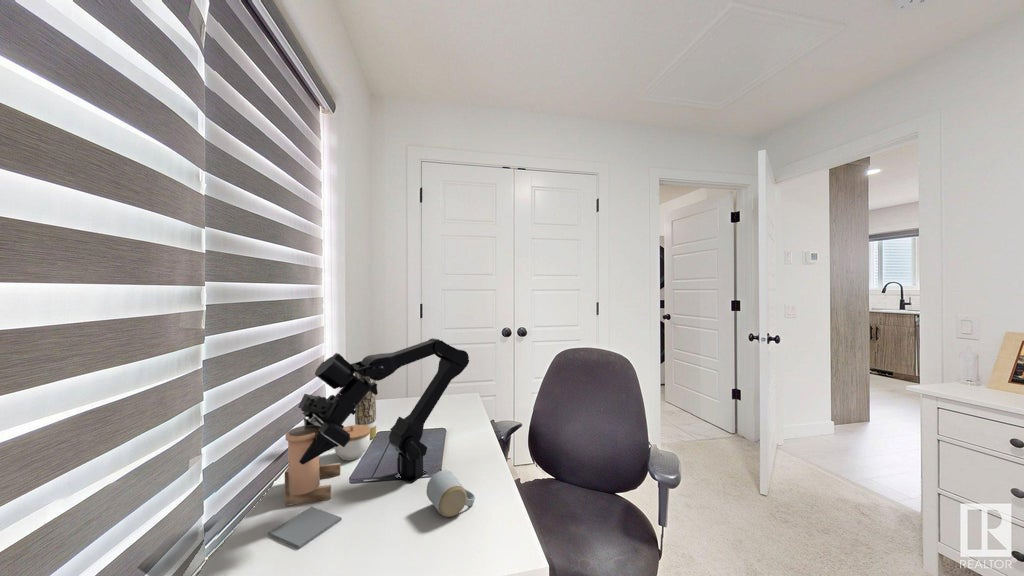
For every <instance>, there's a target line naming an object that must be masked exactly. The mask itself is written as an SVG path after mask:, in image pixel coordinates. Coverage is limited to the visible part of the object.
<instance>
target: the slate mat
mask: <svg viewBox="0 0 1024 576" xmlns="http://www.w3.org/2000/svg"><path fill="white" fill-rule="evenodd" d="M341 521H342V517H341V516H339V515H336V514H334V513H331V512H327V511H325V510H322V509H320V508H317V507H313V506H310V507H308V508H306V509H305V510H304V511H301V512H300V513H298V514H297V515H295V516H294V517H292V518H290V519H289V520H287V521H285V522H283V523H281V524H280V525H278V526H277V527H275V528H273V529H271V530H269V531H268V532H267V533H268V534H267V535H268V537H269V536H270V537H272V538H274V539H276V540H278V541H281V542H282V543H285V544H287V545H289V546H292V547H293V548H296V549H298V550H301V548H303V547H304V546H306V545H308V544H309V543H310V542H311V541H313V540H315V539H316V538H317V537H319V536H320V535H322V534H323V533H325V532H327V531H328V530H329V529H331V528H332V527H333V526H336V524H338V523H339V522H341Z"/></svg>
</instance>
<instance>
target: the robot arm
mask: <svg viewBox="0 0 1024 576" xmlns="http://www.w3.org/2000/svg"><path fill="white" fill-rule="evenodd" d="M433 355H435V356H436V357H437V358H439V361H438V366H437V367H438V369H437V372H436V374H435V375H434V376H433V378H432V380H431V381H430V382H429V384H428V385H427V388H426V389H425V390H424V392H423V394H422V395H421V397H420V398H419V399H418V401H417V403H416V404H415V406H414V407H413V409H412V410H411V411H410V413H409V414H408V415H407V416H406V417H401V416H398V418H397V419H396V422H395V424H394V425H393V426H392V427H391V428H390V429H389V430H390V433H389V436H388V442H389V443H390V446H392V447H393V448H394V449H395V451H396V452H398V454H397V459H396V461H397V463H396V464H397V465H396V466H397V467H396V469H397V474H398V473H399V474H400V476H401V478H400V477H398V478H400V479H399V480H400V481H404V482H408V483H414V482H415V481H417V480H418V479H420V478H421V477H422V476H423V475H422V474H423V473H424V472H426V471H424V470H423V469H424V456H426V454H427V450H428V447H427V446H426V445H425V444H424V443H422V442H421V440H422V437H423V433H424V427H425V424H426V421H427V420H428V418H429V417H430V415H431V413H432V412H433V410H434V408H435V407H436V405H437V404H438V403H439V401H440V398H441V397H442V396H443V394H444V393H445V390H446V389H447V388H448V386H449V385H450V383H451V382H452V380H454V379H455V378H456V377H457V376H459V375H460V374H461V373H462V372H463V371H464V370H465V369H466V368H467V367H468V365H469V363H470V356H469V353H468V352H467V351H466V350H463V349H458V348H456V347H454V346H452V345H450V344H448V343H446V342H445V341H443V339H438V338H433V337H432V338H429V339H428V340H426V341H423V342H420V343H416V344H413V345H411V346H407V347H406V348H402V349H399V350H397V351H394V352H388V353H387V352H385V353H377V354H370V355H366V356H364V358H363V359H362V360H360V361H357V362H353V363H350V362H348V361H347V360H346V359H345V358H344V356H342V355H341V354H340V353H338V352H335V353H334V354H333V355H332V356H330V357H329V358H327V359H326V360H325V361H323V362H321V363H320V365H319V366H318V367H317V368H316V370H315V372H314V375H315V376H316V377H317V378H318V379H320V380H321V381H323V382H324V383H325V384H326V385H327V386H329V387H331V389H333V390H336V389H338V388H339V389H340V390H339V391H338V392H337V393H336V394H331V395H329V396H328V398H326V397H325V396H321V395H311V394H307V393H304V394H303V396H302V399H301V400H300V402H299V405H298V407H297V408H299V409H300V411H302V415H304V417H303V423H304V425H303V426H306V425H318V426H321V427H320V431H321V432H319V431H318V430H316V429H315V438H314V440H313V442H312V443H311V445H310V446H309V448H308V449H307V450H306V452H305V453H304V455H303V456H302V458H301V460H300V461H299V462H300V463H301V464H305V463H307V462H309V461H310V460H312V459H314V458H315V457H317V456H319V457H320V456H321V455H322V454H324V453H325V452H328V451H330V450H332V449H333V448H334V447H338V446H339V445H341V446H342V447H345V446H346V444H347V443H348V442H349V441H350V434H349V433H348V432H347V431H345V430H344V429H343V427H345V426H344V425H343V424H344V422H345V421H346V420H347V419H348V418H349V416H350V415H352V416H355V413H356V411H355V408H356V407H357V406H358V404H359V403H360V402H361V401H362V399H363V398H364V397H365V396H366V395H367V393H368V392H371V393H373V394H375V395H376V396H377V395H378V383H374V382H373V383H370V382H369V381H367V380H366V379H365V378H363V377H368V378H370V379H373V380H375V381H377V382H378V381H383V380H384V379H386V378H387V377H389V376H391V375H392V374H394V373H395V372H396V371H397V370H398V369H400V368H401V367H404V366H406V365H407V366H408V365H409V364H412V363H415V362H418V361H420V360H423V359H425V358H428V357H430V356H433ZM355 373H356V374H358V375H361V376H363V377H361V378H359V379H358V378H357V377H356V376H355ZM337 443H338V444H339V445H338V444H337ZM423 471H424V472H423ZM426 473H427V472H426ZM421 475H422V476H421ZM420 476H421V477H420Z"/></svg>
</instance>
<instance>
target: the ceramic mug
mask: <svg viewBox="0 0 1024 576" xmlns="http://www.w3.org/2000/svg"><path fill="white" fill-rule="evenodd" d="M426 496H427V498H428V500H429V501H430V502H431V504H432V505H433V507H435V509H436V511H438V513H439V514H440V515H442V516H443V517H445V518H452V517H455V516H456V515H458V514H460V512H461V511H462V510H464V507H465V506H466V507H471V506H473V505H474V503H475V499H476V496H475V494H474V493H472V492H471V491H470V490H468V489H466V488H465V487H464V486H463V485H462V483H461V482H460V481H459V479H458V478H457V477H456V475H455V474H454V473H453V472H451V470H447V469H446V470H443V469H442V470H440V471H438V472H436V473H434V474H433V475H432V476H431V478H430V479H429V481H428V483H427V485H426Z"/></svg>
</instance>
